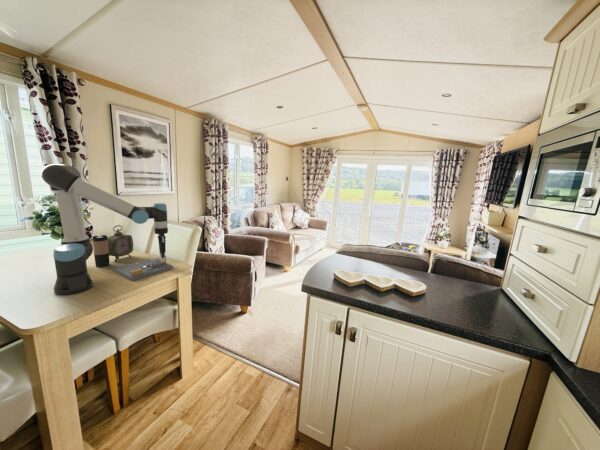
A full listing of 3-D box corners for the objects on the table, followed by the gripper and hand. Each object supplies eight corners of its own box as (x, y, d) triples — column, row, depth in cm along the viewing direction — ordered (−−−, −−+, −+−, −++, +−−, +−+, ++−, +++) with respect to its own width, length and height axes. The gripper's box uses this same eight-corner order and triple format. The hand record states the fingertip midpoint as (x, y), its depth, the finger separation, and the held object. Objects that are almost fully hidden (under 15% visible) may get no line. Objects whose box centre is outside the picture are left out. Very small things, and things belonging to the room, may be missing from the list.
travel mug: (103, 267, 155) (100, 238, 151) (92, 267, 155) (88, 237, 151) (113, 263, 162) (110, 235, 159) (102, 263, 163) (99, 234, 159)
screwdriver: (131, 276, 141) (131, 272, 140) (129, 275, 142) (129, 271, 141) (153, 270, 151) (153, 266, 150) (151, 269, 152) (151, 265, 152)
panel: (131, 280, 139) (131, 277, 139) (113, 270, 151) (112, 267, 151) (173, 268, 160) (172, 265, 160) (153, 260, 172) (153, 257, 172)
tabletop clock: (115, 263, 164) (112, 227, 159) (105, 261, 165) (101, 226, 161) (134, 256, 178) (131, 224, 173) (124, 255, 179) (121, 223, 174)
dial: (145, 270, 150) (144, 262, 149) (140, 267, 153) (139, 260, 152) (168, 263, 162) (167, 256, 161) (163, 261, 165) (162, 255, 164)
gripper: (169, 228, 151) (171, 263, 156) (165, 224, 161) (167, 258, 166) (155, 229, 147) (158, 265, 151) (152, 225, 157) (155, 259, 161)
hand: (163, 261), depth 158 cm, fingers closed
